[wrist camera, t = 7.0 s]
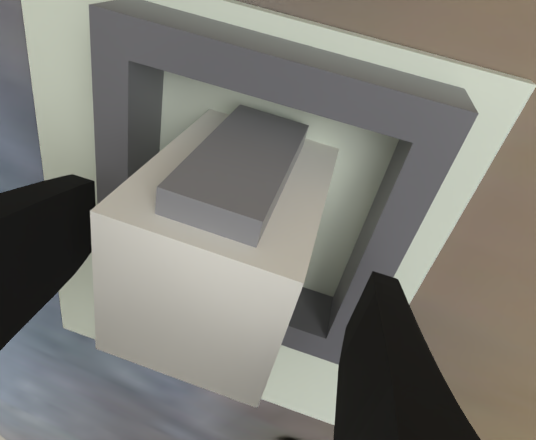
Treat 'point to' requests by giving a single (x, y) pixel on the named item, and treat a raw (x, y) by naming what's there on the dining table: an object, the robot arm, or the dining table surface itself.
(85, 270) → the socket board
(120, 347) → the plug
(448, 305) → the dining table surface
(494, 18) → the dining table surface
